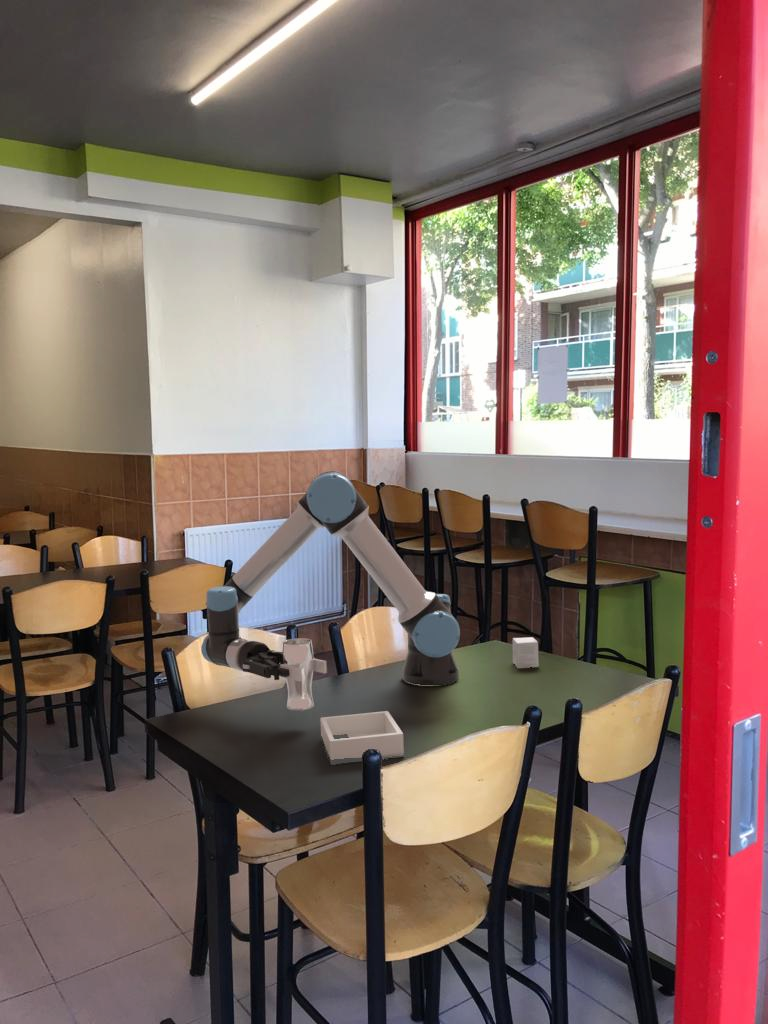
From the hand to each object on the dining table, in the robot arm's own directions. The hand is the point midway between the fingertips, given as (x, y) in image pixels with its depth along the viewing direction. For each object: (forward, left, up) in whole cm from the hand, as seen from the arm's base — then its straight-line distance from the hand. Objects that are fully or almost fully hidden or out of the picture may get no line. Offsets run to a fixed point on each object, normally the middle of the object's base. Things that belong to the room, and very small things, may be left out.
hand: (313, 671), depth 188 cm
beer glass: (-4, -3, -9) cm, 10 cm away
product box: (-37, +64, -14) cm, 75 cm away
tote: (+13, +8, -14) cm, 21 cm away
